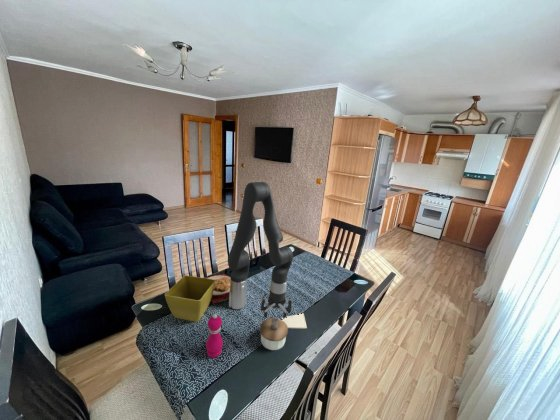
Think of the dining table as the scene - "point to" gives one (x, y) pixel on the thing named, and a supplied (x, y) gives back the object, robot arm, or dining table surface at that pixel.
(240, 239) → the robot arm
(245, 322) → the dining table surface
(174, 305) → the flower pot
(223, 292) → the plate with food
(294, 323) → the mat
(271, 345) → the bowl
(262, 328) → the lid
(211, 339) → the pepper mill
